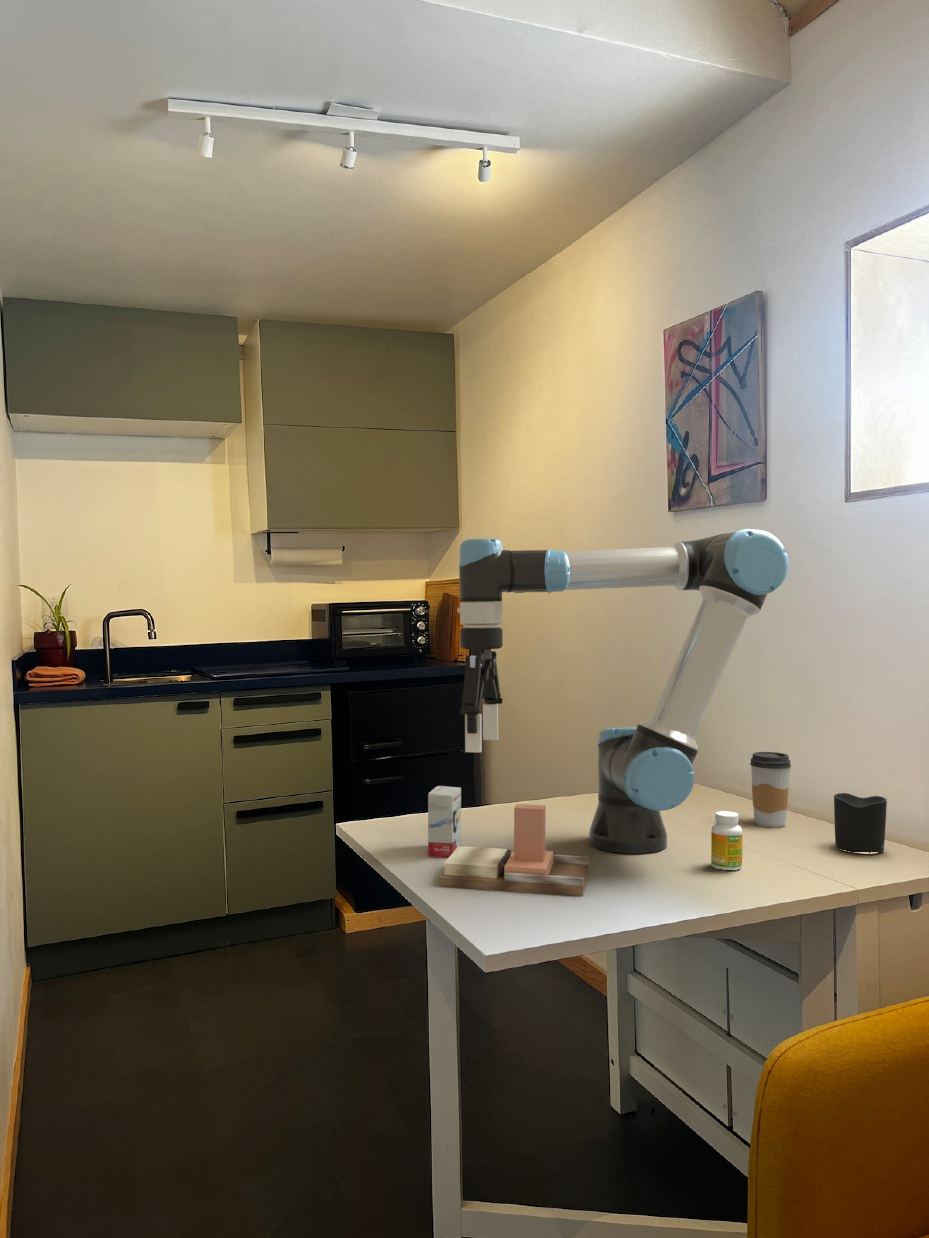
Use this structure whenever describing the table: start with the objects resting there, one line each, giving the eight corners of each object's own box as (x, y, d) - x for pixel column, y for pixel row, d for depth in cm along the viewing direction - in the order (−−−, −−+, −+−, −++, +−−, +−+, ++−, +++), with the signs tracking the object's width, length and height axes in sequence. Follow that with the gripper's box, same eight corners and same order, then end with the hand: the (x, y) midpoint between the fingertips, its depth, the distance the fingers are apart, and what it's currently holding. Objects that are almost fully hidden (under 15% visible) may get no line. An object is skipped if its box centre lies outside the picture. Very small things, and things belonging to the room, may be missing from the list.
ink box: (452, 858, 173) (452, 795, 173) (426, 856, 174) (427, 794, 174) (461, 846, 182) (462, 786, 181) (437, 844, 183) (437, 784, 182)
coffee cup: (794, 822, 201) (795, 753, 201) (785, 831, 194) (785, 759, 194) (755, 817, 205) (756, 750, 205) (744, 825, 198) (745, 755, 198)
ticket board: (589, 871, 165) (589, 850, 165) (582, 895, 152) (582, 873, 152) (457, 862, 170) (457, 842, 170) (439, 886, 157) (439, 864, 157)
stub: (553, 862, 165) (553, 800, 165) (546, 880, 154) (546, 814, 154) (514, 859, 167) (514, 798, 166) (504, 878, 156) (504, 812, 156)
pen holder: (859, 857, 174) (860, 804, 174) (822, 845, 183) (823, 794, 183) (897, 852, 178) (898, 800, 178) (859, 840, 186) (860, 791, 186)
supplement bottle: (729, 873, 164) (729, 818, 164) (704, 865, 169) (705, 812, 169) (748, 868, 168) (748, 814, 167) (723, 861, 172) (724, 808, 172)
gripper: (476, 623, 178) (478, 734, 179) (441, 629, 154) (443, 756, 155) (515, 623, 176) (516, 735, 177) (486, 629, 152) (487, 758, 153)
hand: (482, 745), depth 166 cm, fingers open, 13 cm apart
